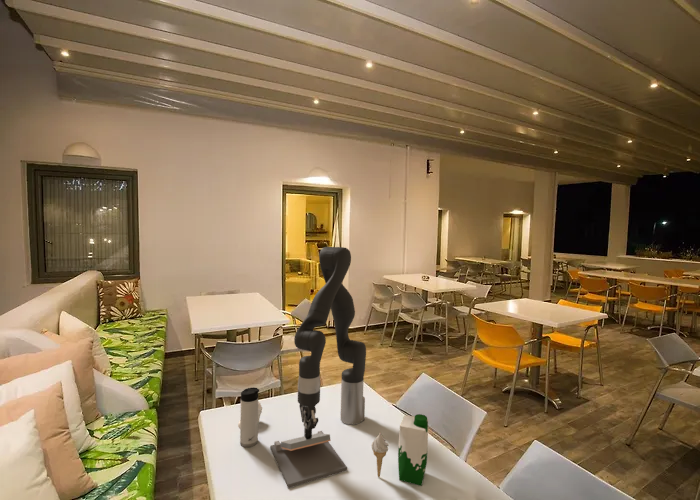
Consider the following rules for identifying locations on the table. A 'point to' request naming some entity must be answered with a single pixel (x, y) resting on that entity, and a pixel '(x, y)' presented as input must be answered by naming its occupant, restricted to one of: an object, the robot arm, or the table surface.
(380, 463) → the ice cream cone
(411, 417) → the milk carton
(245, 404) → the travel mug
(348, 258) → the robot arm
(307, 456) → the base
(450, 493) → the table surface
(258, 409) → the beige irregular lump
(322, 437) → the tile
